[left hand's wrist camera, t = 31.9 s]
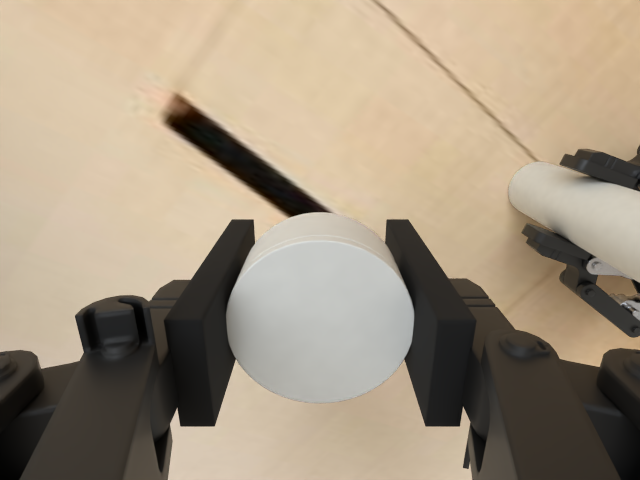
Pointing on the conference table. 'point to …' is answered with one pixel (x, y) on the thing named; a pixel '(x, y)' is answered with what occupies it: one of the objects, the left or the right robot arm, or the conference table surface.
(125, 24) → the conference table surface
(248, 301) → the lid
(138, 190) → the conference table surface
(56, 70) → the conference table surface
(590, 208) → the bottle
